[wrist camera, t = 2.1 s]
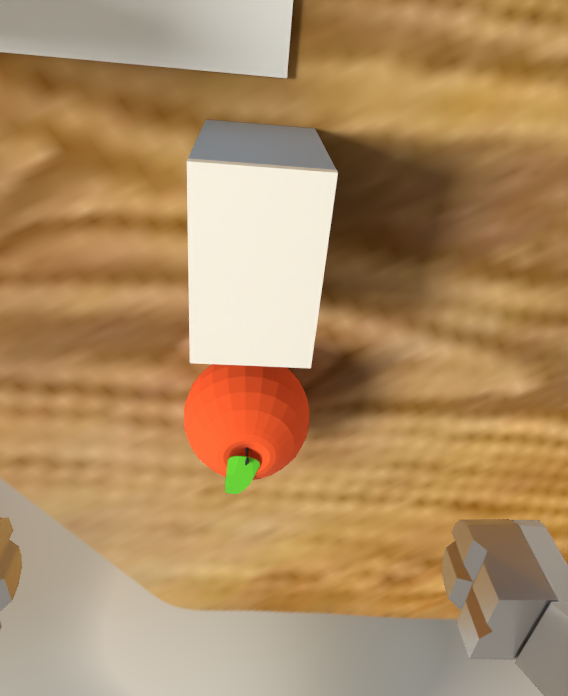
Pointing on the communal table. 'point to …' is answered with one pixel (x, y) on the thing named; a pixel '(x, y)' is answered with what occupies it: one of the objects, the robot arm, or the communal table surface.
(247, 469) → the clementine
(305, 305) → the painted block
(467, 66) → the communal table surface
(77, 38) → the mat
